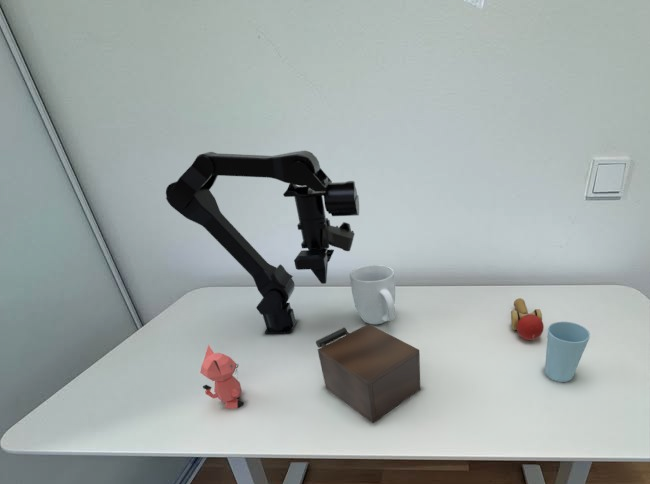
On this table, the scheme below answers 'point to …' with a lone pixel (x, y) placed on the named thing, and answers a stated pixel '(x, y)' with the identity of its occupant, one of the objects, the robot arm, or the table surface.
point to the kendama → (526, 321)
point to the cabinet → (371, 370)
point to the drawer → (331, 338)
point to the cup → (564, 349)
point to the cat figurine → (222, 378)
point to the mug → (374, 292)
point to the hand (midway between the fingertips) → (323, 283)
